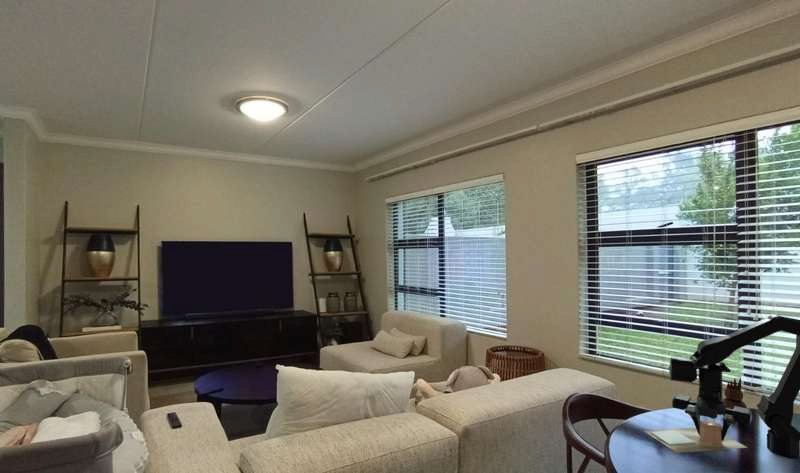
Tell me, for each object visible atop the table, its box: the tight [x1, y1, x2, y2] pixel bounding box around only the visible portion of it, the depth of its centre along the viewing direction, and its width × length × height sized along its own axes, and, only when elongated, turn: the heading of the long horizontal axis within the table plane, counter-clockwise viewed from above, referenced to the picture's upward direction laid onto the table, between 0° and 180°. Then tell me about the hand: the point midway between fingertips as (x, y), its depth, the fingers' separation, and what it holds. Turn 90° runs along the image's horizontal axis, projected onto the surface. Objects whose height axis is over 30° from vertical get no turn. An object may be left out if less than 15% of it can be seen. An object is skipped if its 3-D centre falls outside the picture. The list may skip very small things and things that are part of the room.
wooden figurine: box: [722, 377, 748, 424], centre depth 145 cm, size 7×6×15 cm
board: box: [643, 427, 748, 454], centre depth 131 cm, size 14×22×1 cm, turn 97°
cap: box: [700, 420, 723, 445], centre depth 130 cm, size 5×5×5 cm
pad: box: [651, 430, 695, 446], centre depth 132 cm, size 8×8×1 cm
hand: (711, 437), depth 130 cm, fingers closed on cap, 5 cm apart
